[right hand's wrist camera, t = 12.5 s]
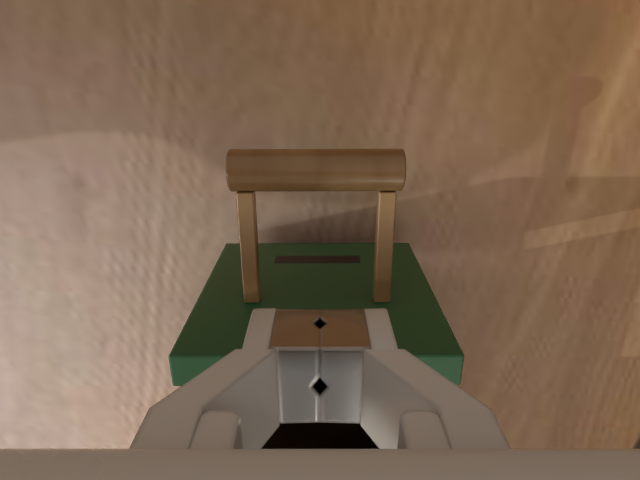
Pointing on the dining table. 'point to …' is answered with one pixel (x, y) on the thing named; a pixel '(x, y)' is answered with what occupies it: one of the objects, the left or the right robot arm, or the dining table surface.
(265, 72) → the dining table surface
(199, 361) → the drawer
